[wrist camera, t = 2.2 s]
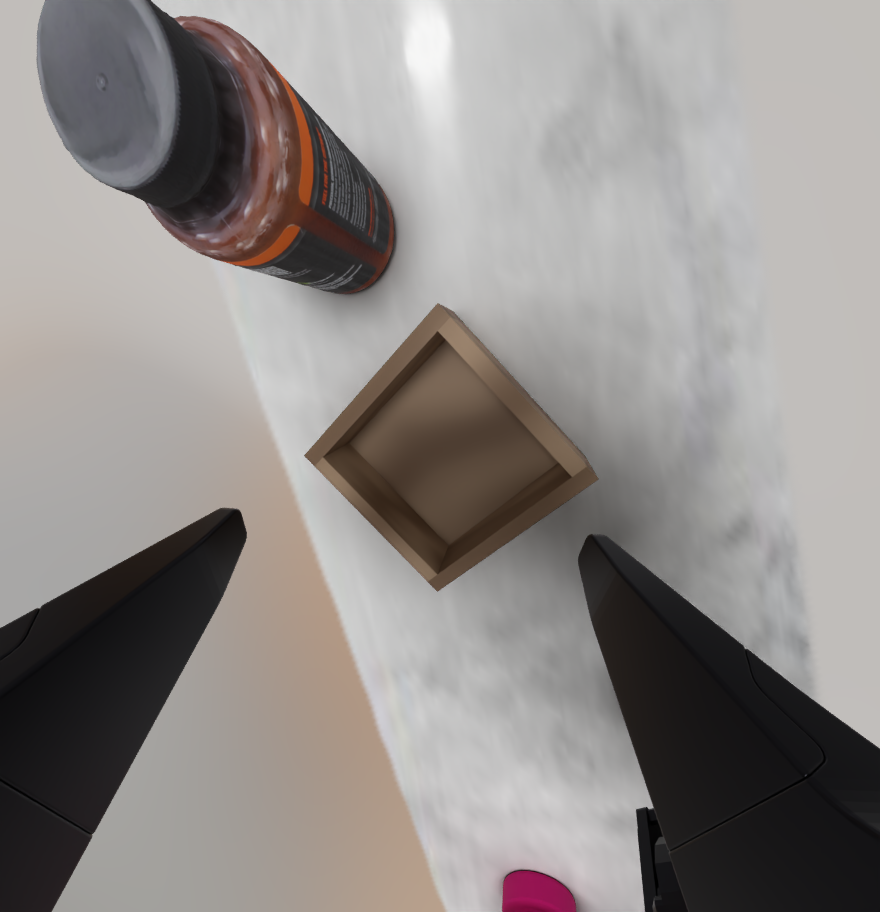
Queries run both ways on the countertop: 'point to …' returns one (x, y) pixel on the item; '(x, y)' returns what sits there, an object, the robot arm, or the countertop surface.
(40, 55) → the supplement bottle
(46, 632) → the robot arm
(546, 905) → the pepper mill
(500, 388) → the wooden box
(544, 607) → the countertop surface
